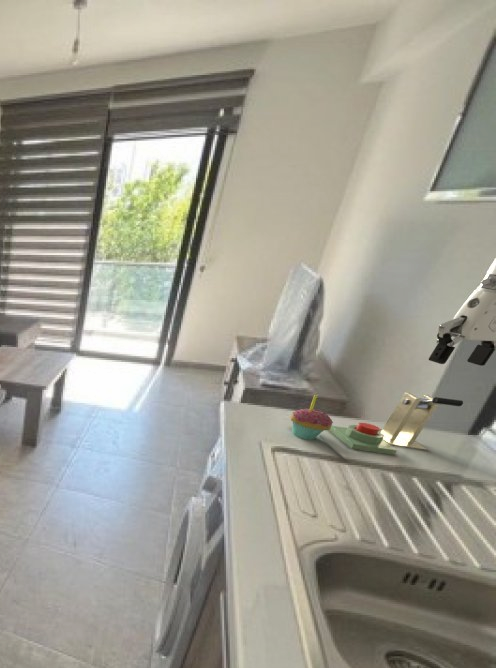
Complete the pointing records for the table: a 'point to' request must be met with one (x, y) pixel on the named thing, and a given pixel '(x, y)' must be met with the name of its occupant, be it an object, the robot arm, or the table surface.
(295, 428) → the cupcake
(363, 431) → the button
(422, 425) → the bracket
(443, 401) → the lever
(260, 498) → the table surface
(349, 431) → the button box
